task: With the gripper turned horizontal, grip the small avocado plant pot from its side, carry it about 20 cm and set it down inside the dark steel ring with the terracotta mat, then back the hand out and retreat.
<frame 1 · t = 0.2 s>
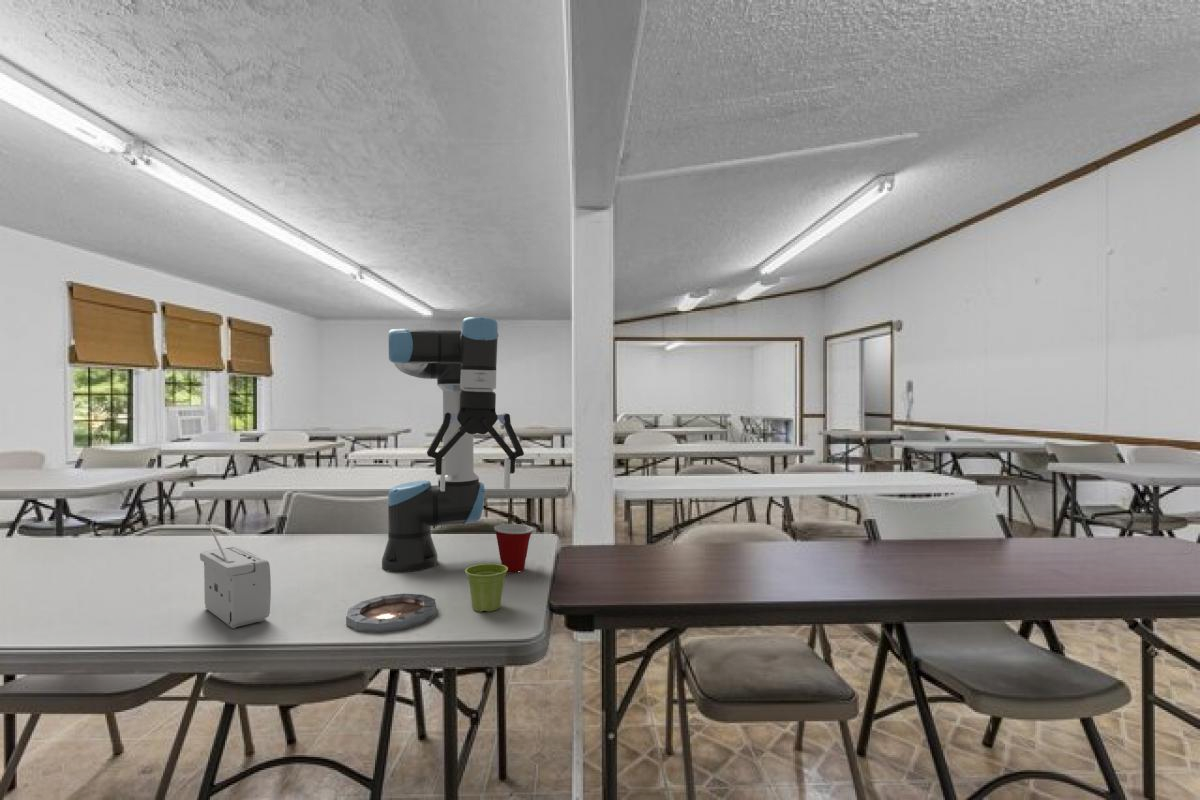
hand: (475, 489, 126), 27 cm above the table, tool pointing down, fingers open, 13 cm apart
steel ring: (392, 615, 127), on the table
plastic cup: (514, 571, 160), on the table
plant pot: (486, 608, 131), on the table
stereo radio cassette player: (234, 616, 129), on the table
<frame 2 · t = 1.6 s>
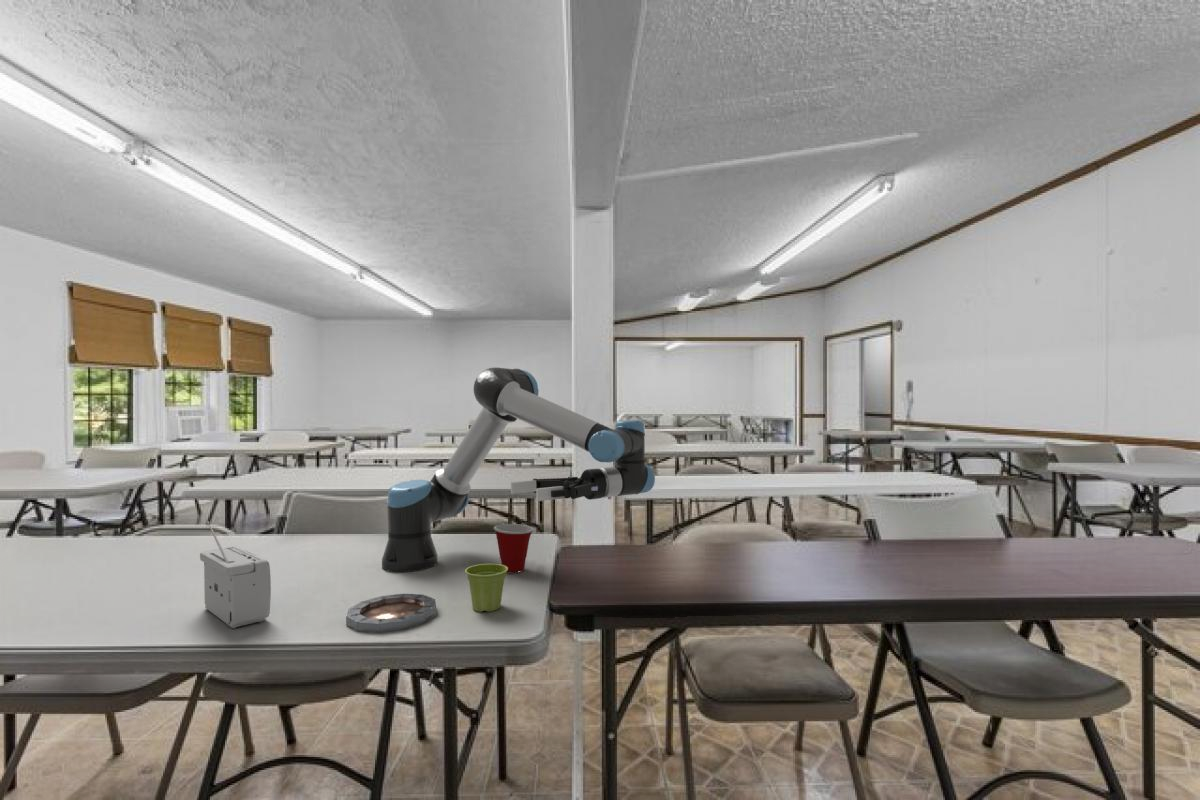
hand: (523, 491, 136), 25 cm above the table, tool horizontal, fingers open, 13 cm apart
nothing on the table moved.
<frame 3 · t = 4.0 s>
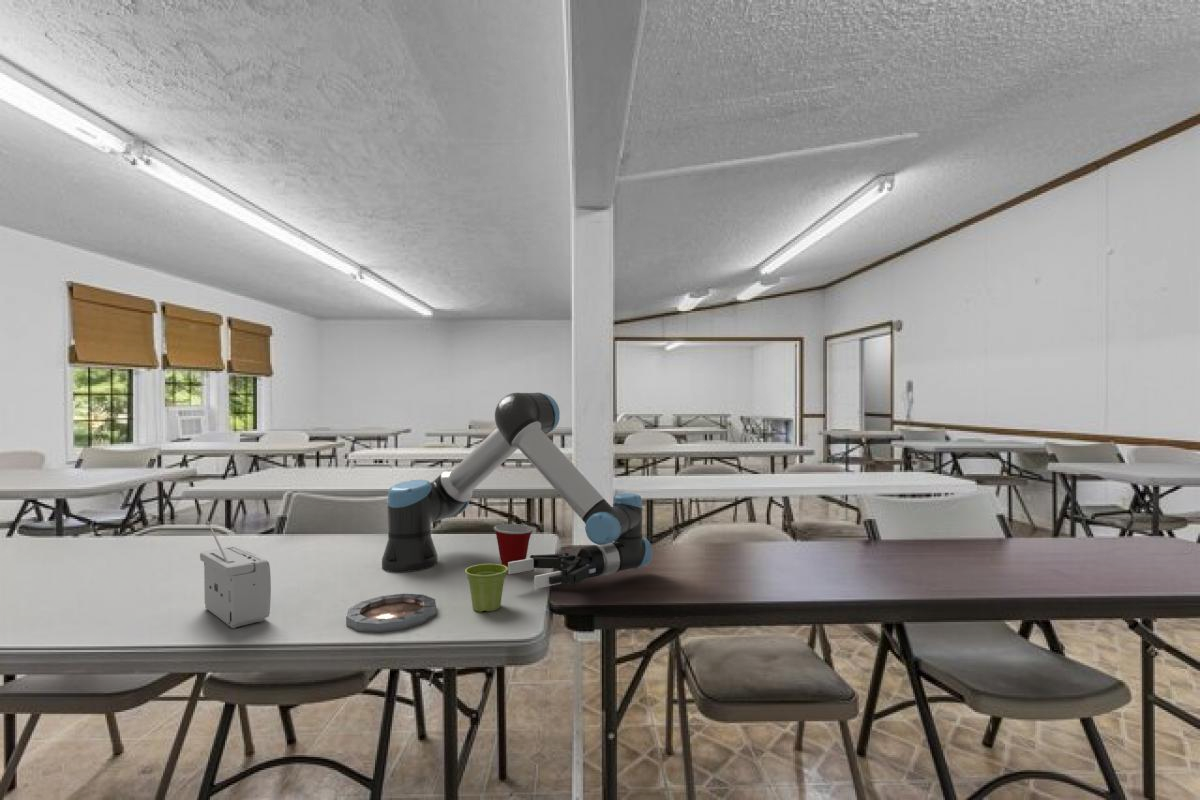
hand: (521, 575, 136), 6 cm above the table, tool horizontal, fingers open, 13 cm apart
nothing on the table moved.
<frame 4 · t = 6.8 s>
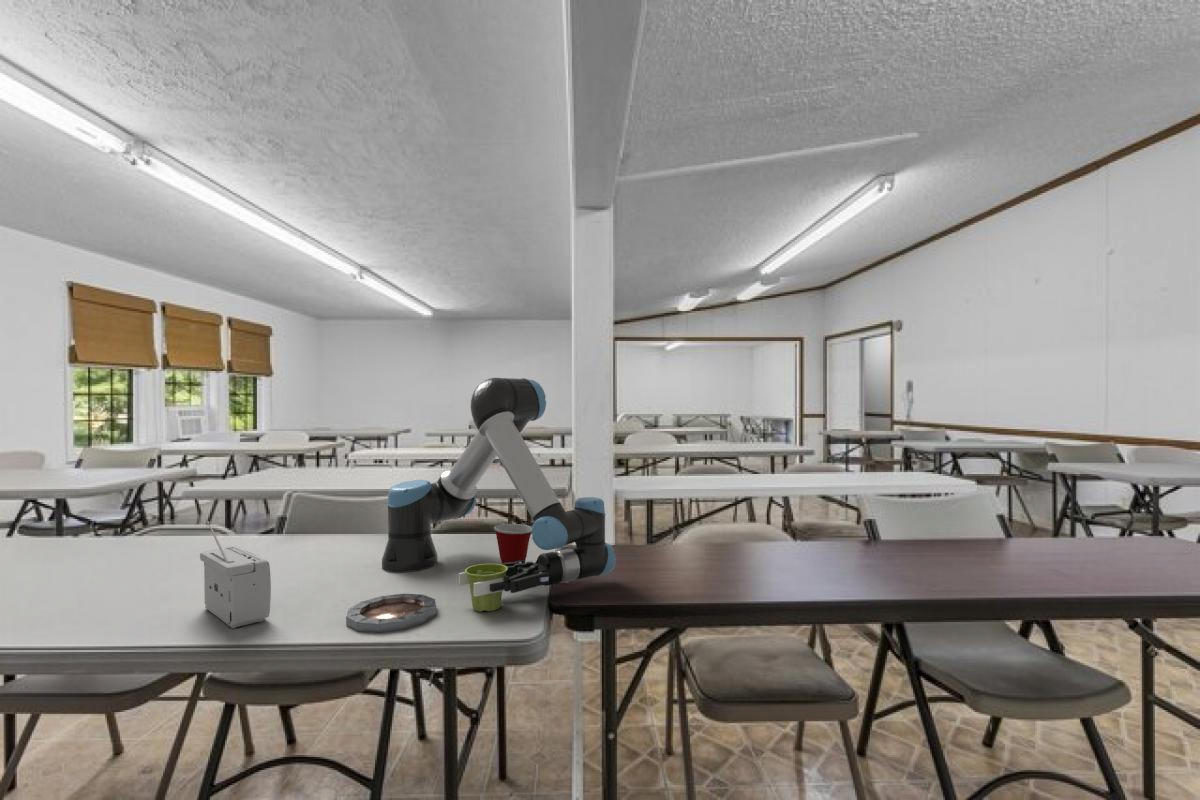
hand: (466, 584, 129), 6 cm above the table, tool horizontal, fingers closed on plant pot, 8 cm apart
plant pot: (487, 608, 131), on the table, touching gripper
everything else where it was.
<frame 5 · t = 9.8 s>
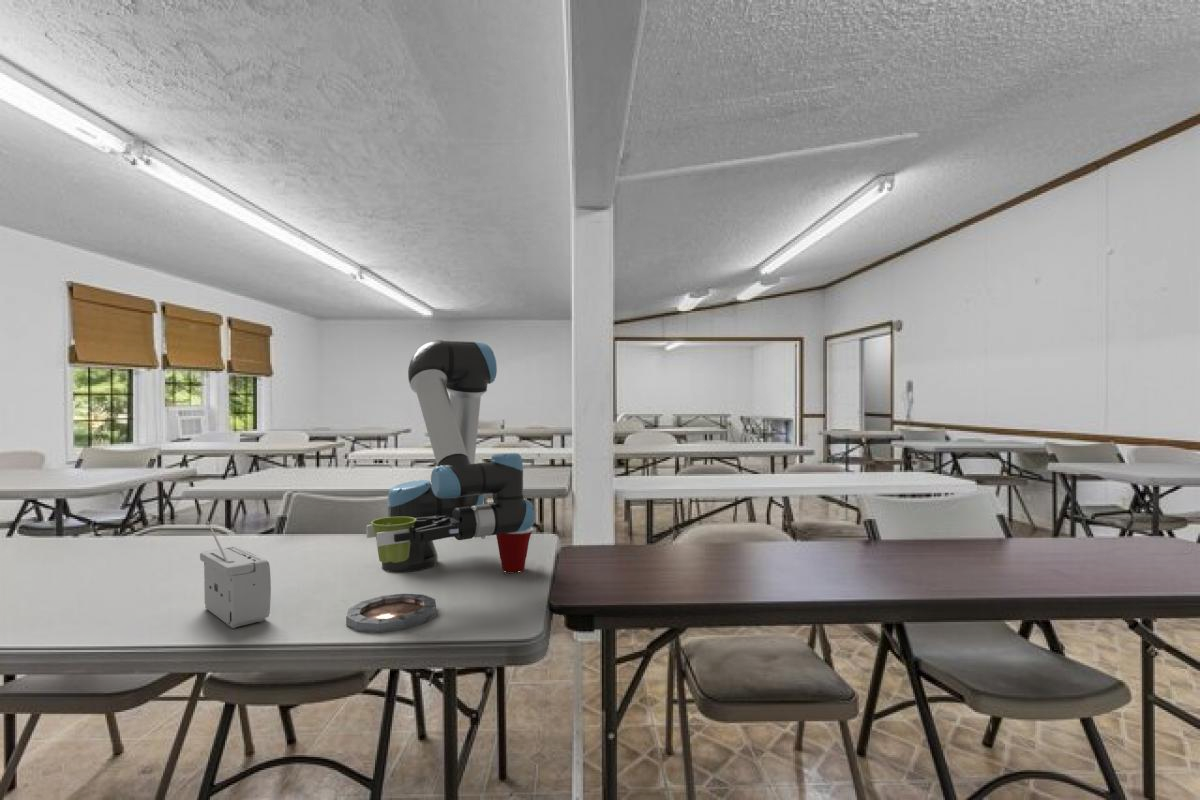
hand: (371, 535, 126), 18 cm above the table, tool horizontal, fingers closed on plant pot, 8 cm apart
plant pot: (394, 560, 129), point 11 cm above the table, touching gripper
everything else where it was.
when the fingers open (8 cm above the table, at t = 12.8 s): plant pot drops 1 cm, resting on steel ring.
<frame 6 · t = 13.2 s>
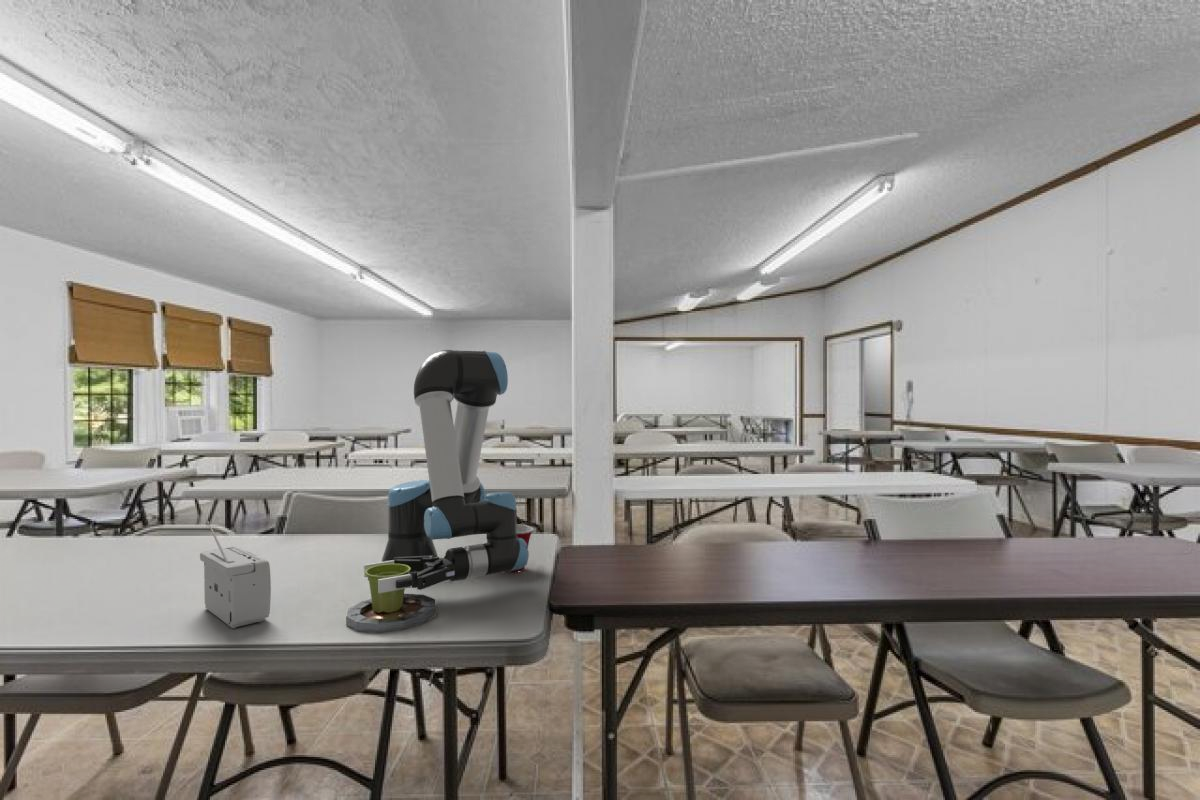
hand: (370, 578, 127), 8 cm above the table, tool horizontal, fingers open, 13 cm apart
plant pot: (387, 609, 129), resting on steel ring
everything else where it was.
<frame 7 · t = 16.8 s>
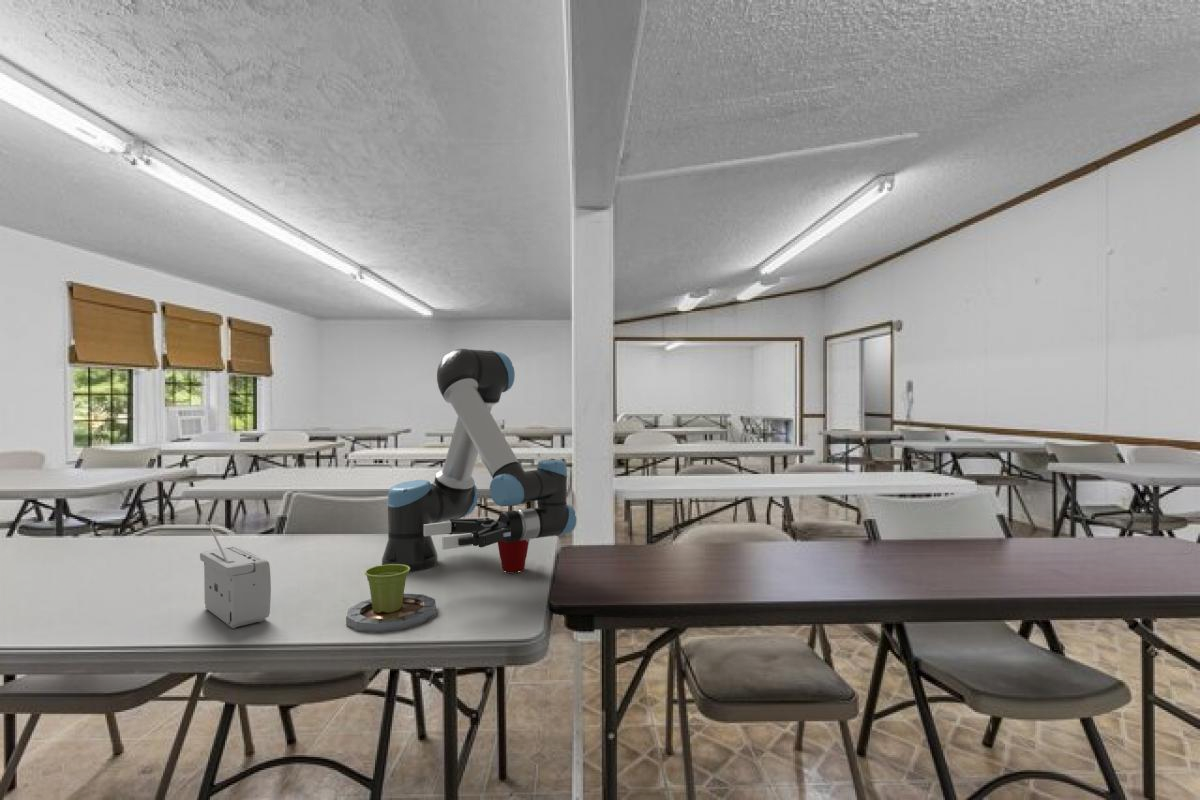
hand: (432, 536, 134), 16 cm above the table, tool horizontal, fingers open, 13 cm apart
nothing on the table moved.
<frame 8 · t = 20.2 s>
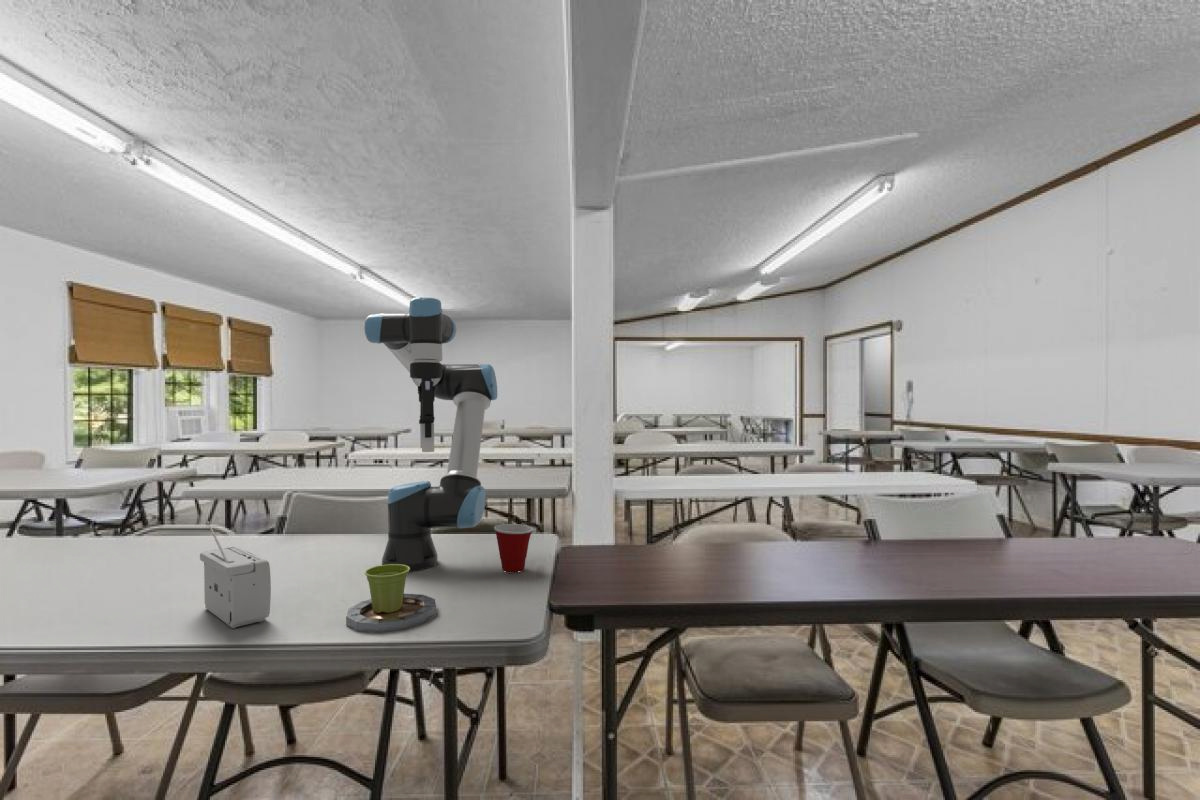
hand: (427, 449, 142), 35 cm above the table, tool pointing down, fingers open, 13 cm apart
nothing on the table moved.
at the end: plant pot 3.4 cm off-centre on the steel ring, point 0.4 cm above the steel ring's base; plant pot tilted 0°; the gripper is holding nothing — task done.
